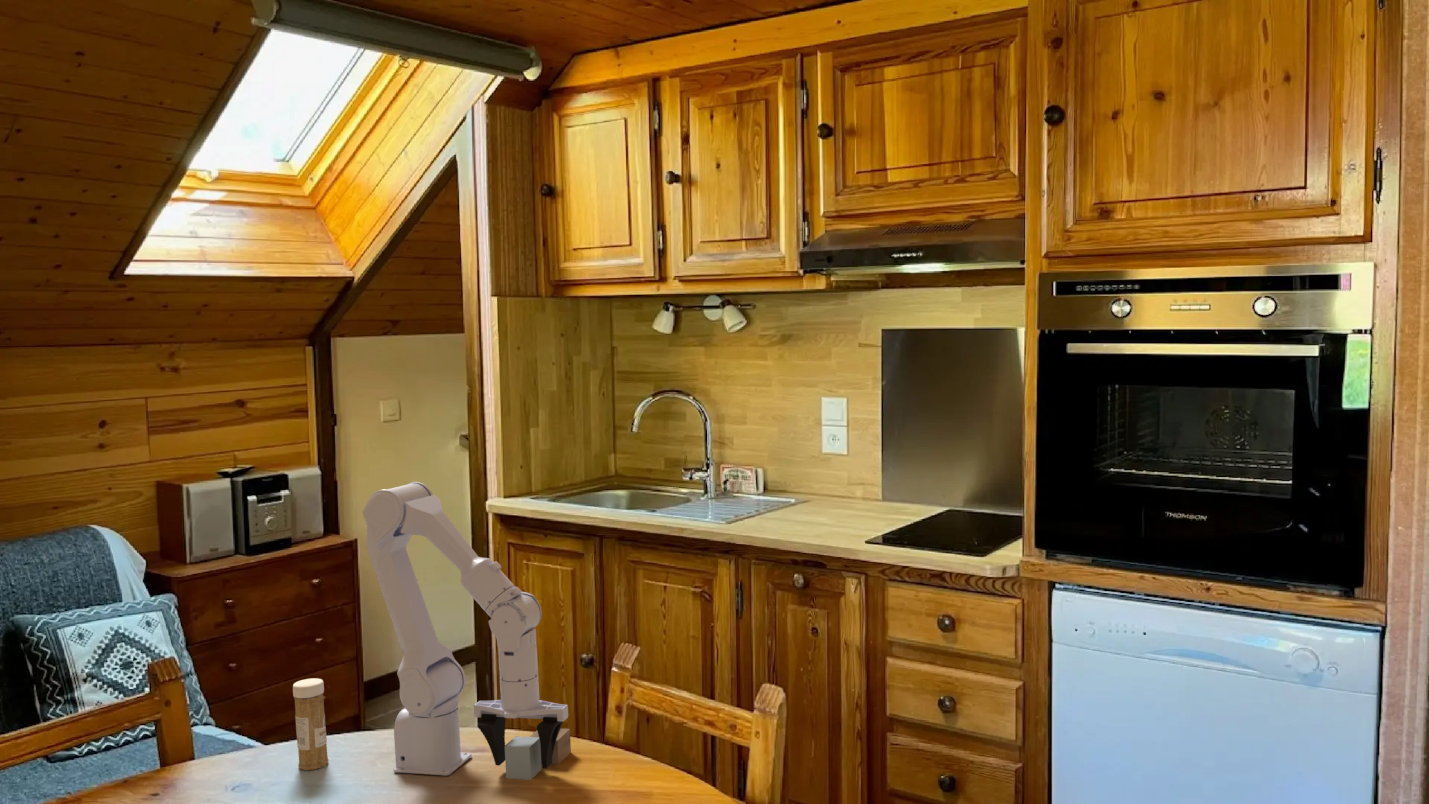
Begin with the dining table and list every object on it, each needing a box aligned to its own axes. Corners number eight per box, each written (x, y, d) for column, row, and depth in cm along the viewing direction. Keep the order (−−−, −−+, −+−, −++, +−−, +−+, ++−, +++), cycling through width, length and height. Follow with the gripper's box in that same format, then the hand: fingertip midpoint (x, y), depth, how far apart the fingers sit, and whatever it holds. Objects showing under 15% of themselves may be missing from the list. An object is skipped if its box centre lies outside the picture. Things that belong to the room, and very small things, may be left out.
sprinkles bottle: (331, 766, 170) (326, 682, 169) (301, 773, 168) (296, 688, 167) (324, 757, 174) (319, 675, 173) (295, 764, 172) (289, 681, 171)
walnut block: (528, 763, 168) (527, 738, 168) (541, 751, 173) (540, 727, 173) (558, 765, 167) (557, 740, 167) (571, 753, 172) (569, 728, 172)
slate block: (506, 778, 163) (504, 746, 163) (517, 768, 167) (515, 736, 166) (531, 780, 162) (529, 747, 162) (541, 769, 166) (539, 737, 165)
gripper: (462, 682, 161) (467, 772, 162) (553, 686, 158) (558, 777, 159) (484, 668, 168) (488, 754, 169) (571, 671, 165) (575, 759, 165)
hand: (523, 764), depth 164 cm, fingers open, 7 cm apart
